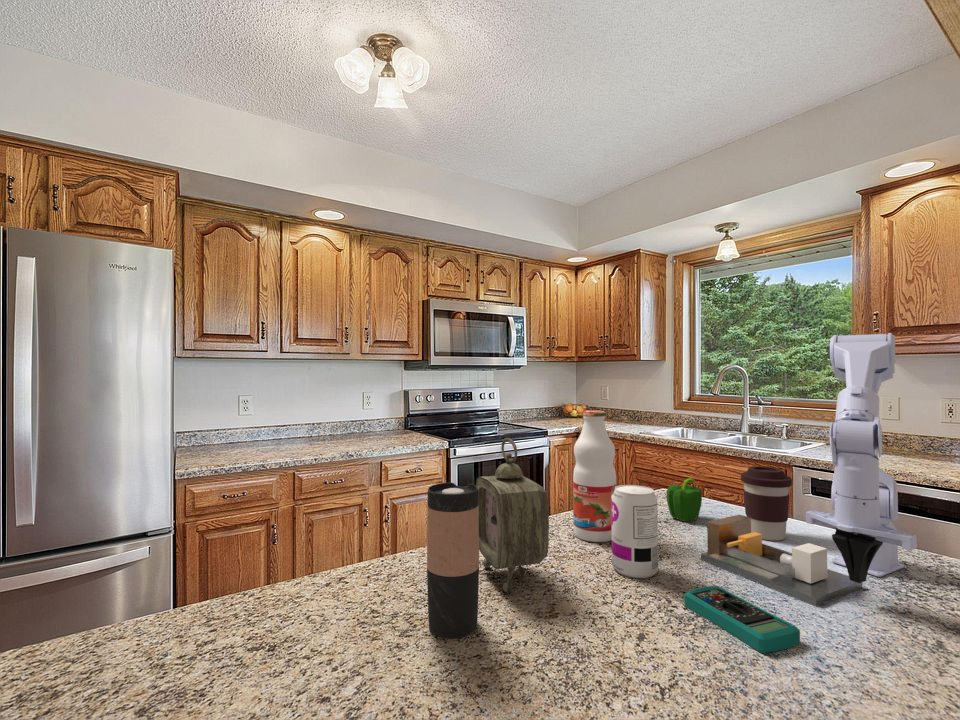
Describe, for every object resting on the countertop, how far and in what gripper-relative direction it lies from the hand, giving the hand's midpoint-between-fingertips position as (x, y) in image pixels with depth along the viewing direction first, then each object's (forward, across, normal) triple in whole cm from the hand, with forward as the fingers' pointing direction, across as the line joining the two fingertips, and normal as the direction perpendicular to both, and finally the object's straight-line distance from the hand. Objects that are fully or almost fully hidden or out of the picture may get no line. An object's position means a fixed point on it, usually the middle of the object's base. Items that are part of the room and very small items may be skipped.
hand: (857, 580), depth 78 cm
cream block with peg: (+2, -9, 0) cm, 9 cm away
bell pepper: (+4, -43, +12) cm, 45 cm away
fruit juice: (+4, -44, -16) cm, 47 cm away
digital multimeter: (+4, -5, -23) cm, 24 cm away
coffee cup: (+4, -26, +18) cm, 32 cm away
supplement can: (+4, -26, -22) cm, 34 cm away
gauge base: (+4, -13, 0) cm, 13 cm away
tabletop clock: (+4, -34, -44) cm, 56 cm away
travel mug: (+4, -24, -60) cm, 65 cm away
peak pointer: (+2, -18, -2) cm, 18 cm away
